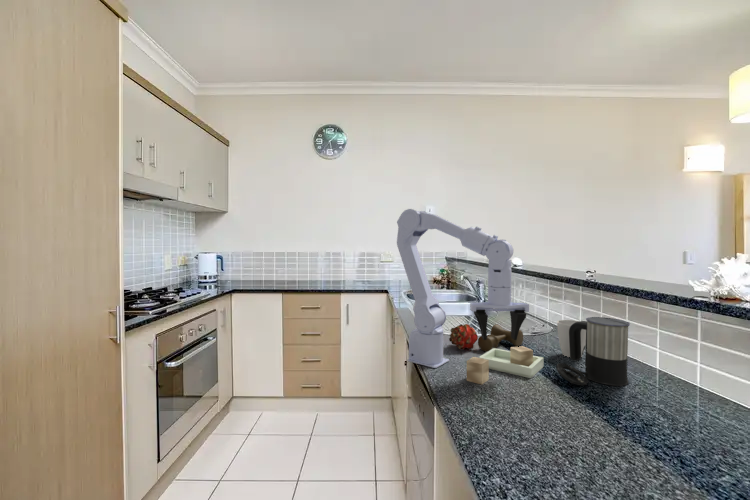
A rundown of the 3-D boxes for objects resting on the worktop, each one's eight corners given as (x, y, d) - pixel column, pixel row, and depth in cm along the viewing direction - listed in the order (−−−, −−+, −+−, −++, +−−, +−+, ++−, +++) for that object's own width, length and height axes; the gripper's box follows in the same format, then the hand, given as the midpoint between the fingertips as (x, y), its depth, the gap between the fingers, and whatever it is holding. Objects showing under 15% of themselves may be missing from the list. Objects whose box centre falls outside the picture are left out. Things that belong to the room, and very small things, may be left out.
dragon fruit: (454, 357, 110) (466, 353, 120) (476, 344, 107) (487, 341, 117) (440, 333, 114) (453, 331, 124) (461, 319, 110) (473, 318, 120)
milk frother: (632, 379, 89) (632, 320, 88) (620, 399, 77) (621, 331, 77) (569, 365, 98) (569, 312, 98) (551, 382, 87) (551, 322, 87)
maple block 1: (466, 380, 88) (466, 360, 88) (473, 376, 91) (473, 356, 91) (482, 384, 86) (482, 364, 85) (488, 379, 89) (488, 360, 88)
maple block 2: (520, 370, 93) (520, 351, 93) (510, 365, 97) (510, 347, 97) (532, 368, 94) (532, 350, 94) (522, 364, 98) (522, 346, 98)
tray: (478, 366, 98) (478, 357, 98) (493, 356, 107) (493, 348, 107) (531, 378, 89) (531, 368, 89) (543, 366, 98) (543, 357, 98)
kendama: (470, 349, 116) (503, 337, 128) (497, 357, 108) (529, 343, 121) (470, 331, 115) (504, 320, 128) (497, 338, 108) (530, 326, 120)
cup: (592, 360, 102) (592, 326, 102) (561, 359, 104) (561, 325, 104) (581, 352, 110) (582, 320, 110) (553, 350, 112) (553, 319, 111)
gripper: (521, 284, 95) (521, 335, 96) (467, 284, 96) (467, 334, 96) (532, 288, 88) (532, 342, 89) (474, 288, 88) (473, 342, 89)
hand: (499, 338), depth 92 cm, fingers open, 7 cm apart
